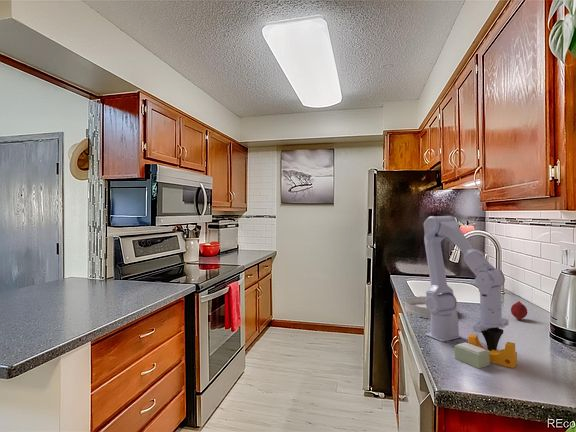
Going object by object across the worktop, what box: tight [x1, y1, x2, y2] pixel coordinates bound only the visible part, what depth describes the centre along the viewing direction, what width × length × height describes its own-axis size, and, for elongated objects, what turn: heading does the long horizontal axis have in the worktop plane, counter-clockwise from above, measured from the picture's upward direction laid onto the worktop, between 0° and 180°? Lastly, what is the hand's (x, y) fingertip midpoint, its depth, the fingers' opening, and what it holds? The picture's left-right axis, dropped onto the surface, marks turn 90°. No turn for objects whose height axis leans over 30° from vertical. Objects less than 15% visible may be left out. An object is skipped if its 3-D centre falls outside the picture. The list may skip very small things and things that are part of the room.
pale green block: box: [454, 342, 491, 369], centre depth 105 cm, size 5×8×4 cm, turn 26°
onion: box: [510, 299, 528, 321], centre depth 145 cm, size 6×6×8 cm
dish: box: [404, 296, 458, 320], centre depth 157 cm, size 22×22×5 cm
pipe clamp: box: [467, 333, 518, 369], centre depth 106 cm, size 12×4×6 cm, turn 45°
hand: (491, 351), depth 108 cm, fingers closed, pressing on pipe clamp
